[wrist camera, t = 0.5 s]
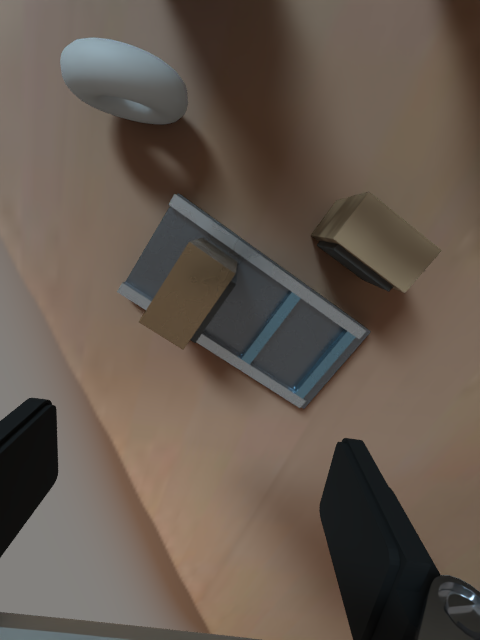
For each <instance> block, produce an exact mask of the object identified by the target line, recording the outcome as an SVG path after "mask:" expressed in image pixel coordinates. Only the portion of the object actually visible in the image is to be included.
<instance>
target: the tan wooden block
mask: <svg viewBox="0 0 480 640" xmlns="http://www.w3.org/2000/svg"><path fill="white" fill-rule="evenodd" d="M311 236H312V237H314V238H315V239H316V240H318V241H319V243H318V244H317V246H318V247H320V248H321V249H322V250H324V251H325V252H326V253H328V254H329V255H330V256H332V257H333V258H334V259H336V260H337V261H338V262H340V263H341V264H342V265H344V266H345V267H346V268H348V269H349V270H350V271H352V272H353V273H354V274H356V275H357V276H358V277H360V278H361V279H362V280H364V281H367V282H369V283H371V284H373V285H375V286H378V287H380V288H382V289H384V290H386V291H390V290H391V289H392V288H394V289H396V290H398V291H401V292H403V293H405V292H406V291H407V290H408V289H409V288H410V287H411V285H412V284H413V283H414V282H415V281H416V280H417V279H418V277H419V276H420V275H421V274H422V273H423V272H424V270H425V269H426V268H427V267H428V266H429V265H430V264H431V262H432V261H433V260H434V259H435V258H436V257H437V256H438V254H439V253H440V252H441V251H442V250H440V249H439V248H438V247H437V246H435V245H434V244H433V243H432V242H431V241H429V240H428V239H427V238H426V237H424V236H423V235H422V234H421V233H419V232H418V231H417V230H416V229H415V228H413V227H412V226H411V225H410V224H408V223H407V222H406V221H405V220H403V219H402V218H401V217H400V216H398V215H397V214H396V213H395V212H394V211H392V210H391V209H390V208H389V207H387V206H386V205H385V204H384V203H382V202H381V201H380V200H379V199H378V198H376V197H375V196H374V195H373V194H371V193H370V192H366V193H362V194H359V195H355V196H351V197H348V198H344V199H340V200H337V201H336V202H335V203H334V205H333V206H332V207H331V209H330V210H329V211H328V213H327V214H326V216H325V217H324V218H323V220H322V221H321V222H320V224H319V225H318V226H317V228H316V229H315V231H314V232H313V233H312V235H311Z"/></svg>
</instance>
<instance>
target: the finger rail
mask: <svg viewBox="0 0 480 640" xmlns="http://www.w3.org/2000/svg"><path fill="white" fill-rule="evenodd" d="M168 205H170V207H169V209H168V210H167V212H166V214H165V216H164V217H163V219H162V221H161V222H160V224H159V226H158V227H157V229H156V231H155V233H154V234H153V236H152V238H151V239H150V241H149V243H148V244H147V246H146V248H145V249H144V251H143V253H142V255H141V256H140V258H139V260H138V261H137V263H136V265H135V266H134V268H133V270H132V271H131V273H130V275H129V277H128V278H127V280H126V281H125V282H123V283H122V284H121V286H120V288H119V289H118V291H117V292H118V293H120V294H121V295H123V296H124V297H126V298H127V299H129V300H131V301H132V302H134V303H135V304H137V305H138V306H140V307H142V308H143V309H145V310H146V311H145V313H144V314H143V316H142V318H141V319H140V321H139V322H140V323H141V324H143V325H144V326H146V327H147V328H149V329H151V330H152V331H154V332H155V333H157V334H159V335H160V336H162V337H163V338H165V339H167V340H168V341H170V342H171V343H173V344H175V345H176V346H178V347H179V348H181V349H184V348H185V346H186V345H187V344H188V342H189V341H190V340H191V341H193V342H194V343H196V342H197V343H198V344H200V345H201V346H203V347H204V348H206V349H208V350H209V351H211V352H212V353H214V354H215V355H217V356H219V357H220V358H222V359H223V360H225V361H226V362H228V363H230V364H231V365H233V366H234V367H236V368H237V369H239V370H241V371H242V372H244V373H245V374H247V375H248V376H250V377H252V378H253V379H255V380H256V381H258V382H259V383H261V384H263V385H264V386H266V387H267V388H269V389H270V390H272V391H274V392H275V393H277V394H278V395H280V396H281V397H283V398H285V399H286V400H288V401H289V402H291V403H292V404H294V405H296V406H297V407H299V408H301V407H302V408H303V409H304V408H305V407H306V406H307V405H308V404H309V403H310V401H311V400H312V399H313V398H314V397H315V396H316V394H317V393H318V392H319V391H320V390H321V389H322V388H323V386H324V385H325V384H326V383H327V382H328V381H329V379H330V378H331V377H332V376H333V375H334V374H335V373H336V371H337V370H338V369H339V368H340V367H341V366H342V364H343V363H344V362H345V361H346V360H347V359H348V358H349V356H350V355H351V354H352V353H353V352H354V351H355V349H356V348H357V347H358V346H359V345H360V344H361V343H362V341H363V340H364V339H365V338H366V337H367V336H368V334H369V333H370V332H371V331H369V330H368V329H367V328H366V327H364V326H363V325H362V324H360V323H359V322H357V321H356V320H355V319H353V318H352V317H350V316H349V315H348V314H346V313H345V312H344V311H342V310H341V309H339V308H338V307H337V306H335V305H334V304H332V303H331V302H330V301H328V300H327V299H325V298H324V297H323V296H321V295H320V294H318V293H317V292H316V291H314V290H313V289H312V288H310V287H309V286H307V285H306V284H305V283H303V282H302V281H300V280H299V279H298V278H296V277H295V276H293V275H292V274H291V273H289V272H288V271H286V270H285V269H284V268H282V267H281V266H279V265H278V264H277V263H275V262H274V261H273V260H271V259H270V258H268V257H267V256H266V255H264V254H263V253H261V252H260V251H259V250H257V249H256V248H254V247H253V246H252V245H250V244H249V243H247V242H246V241H245V240H243V239H242V238H241V237H239V236H238V235H236V234H235V233H234V232H232V231H231V230H229V229H228V228H227V227H225V226H224V225H222V224H221V223H220V222H218V221H217V220H215V219H214V218H213V217H211V216H210V215H209V214H207V213H206V212H204V211H203V210H202V209H200V208H199V207H197V206H196V205H195V204H193V203H192V202H190V201H189V200H188V199H186V198H185V197H183V196H182V195H181V194H179V193H178V194H177V195H176V194H174V196H173V198H172V199H171V201H170V203H169V204H168Z"/></svg>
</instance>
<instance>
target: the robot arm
mask: <svg viewBox="0 0 480 640" xmlns="http://www.w3.org/2000/svg"><path fill="white" fill-rule="evenodd" d="M57 476H58V449H57V416H56V407H55V406H54V405H52V403H51V401H50V400H45V399H38V398H29V399H27V400H26V401H25V402H23V403H22V404H21V405H20V406H19V407H17V408H16V409H15V410H14V411H12V412H11V413H10V414H9V415H7V416H6V417H5V418H4V419H2V420H1V421H0V557H1V556H2V555H3V553H4V552H5V550H6V549H7V548H8V546H9V545H10V543H11V542H12V541H13V539H14V538H15V537H16V535H17V534H18V533H19V531H20V530H21V529H22V527H23V526H24V524H25V523H26V522H27V520H28V519H29V518H30V516H31V515H32V513H33V512H34V510H35V509H36V508H37V507H38V505H39V504H40V502H41V501H42V500H43V498H44V497H45V496H46V494H47V493H48V492H49V490H50V489H51V488H52V486H53V485H54V483H55V481H56V479H57ZM320 517H321V521H322V525H323V528H324V532H325V536H326V540H327V543H328V547H329V551H330V555H331V558H332V562H333V566H334V570H335V573H336V577H337V581H338V585H339V588H340V592H341V596H342V600H343V603H344V607H345V611H346V615H347V618H348V622H349V626H350V629H351V633H352V637H353V640H480V592H479V591H478V590H476V589H475V588H474V587H472V586H471V585H470V584H468V583H466V582H464V581H462V580H461V579H459V578H455V577H452V576H449V575H440V573H439V571H438V570H437V568H436V566H435V564H434V563H433V561H432V559H431V557H430V556H429V554H428V552H427V550H426V549H425V547H424V545H423V543H422V542H421V540H420V538H419V536H418V534H417V533H416V531H415V529H414V527H413V526H412V524H411V522H410V520H409V519H408V517H407V515H406V513H405V512H404V510H403V508H402V506H401V504H400V503H399V501H398V499H397V497H396V496H395V494H394V492H393V491H392V490H391V488H389V487H388V485H387V483H386V481H385V480H384V478H383V476H382V474H381V472H380V471H379V469H378V467H377V465H376V463H375V462H374V460H373V458H372V456H371V455H370V453H369V451H368V449H367V447H366V446H365V444H364V442H363V441H362V440H356V439H348V438H344V439H343V440H342V442H338V443H337V445H336V448H335V451H334V455H333V459H332V462H331V466H330V470H329V473H328V477H327V480H326V484H325V488H324V491H323V495H322V498H321V502H320ZM0 640H260V639H252V638H243V637H234V636H225V635H216V634H207V633H198V632H188V631H179V630H170V629H160V628H151V627H142V626H132V625H122V624H113V623H103V622H94V621H85V620H74V619H65V618H54V617H44V616H33V615H24V614H14V613H4V612H0Z"/></svg>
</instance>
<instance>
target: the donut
mask: <svg viewBox="0 0 480 640" xmlns="http://www.w3.org/2000/svg"><path fill="white" fill-rule="evenodd" d="M60 63H61V71H62V77H63V79H64V81H65V84H66V85H67V86H68V88H69V89H70V90H71V91H72V92H73V93H74V94H75V95H76V96H77V97H78V98H79V99H80V100H82V101H83V102H85V103H87V104H88V105H90V106H92V107H94V108H96V109H98V110H101V111H103V112H106V113H109V114H111V115H114V116H117V117H121V118H124V119H128V120H132V121H137V122H142V123H149V124H169V123H173V122H176V121H177V120H178V119H180V118H181V117H182V116H183V115H184V114H185V112H186V110H187V106H188V96H187V89H186V86H185V83H184V82H183V80H182V79H181V77H180V76H179V75H178V73H177V72H176V71H175V70H174V69H173V68H172V67H170V66H169V65H168V64H166V63H165V62H164V61H162V60H161V59H160V58H158V57H156V56H154V55H152V54H151V53H149V52H147V51H145V50H142V49H140V48H137V47H135V46H132V45H130V44H126V43H123V42H119V41H115V40H111V39H103V38H84V39H77V40H75V41H74V42H72V43H71V44H69V45H68V46H67V47H65V49H64V50H63V52H62V54H61V60H60Z"/></svg>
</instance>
